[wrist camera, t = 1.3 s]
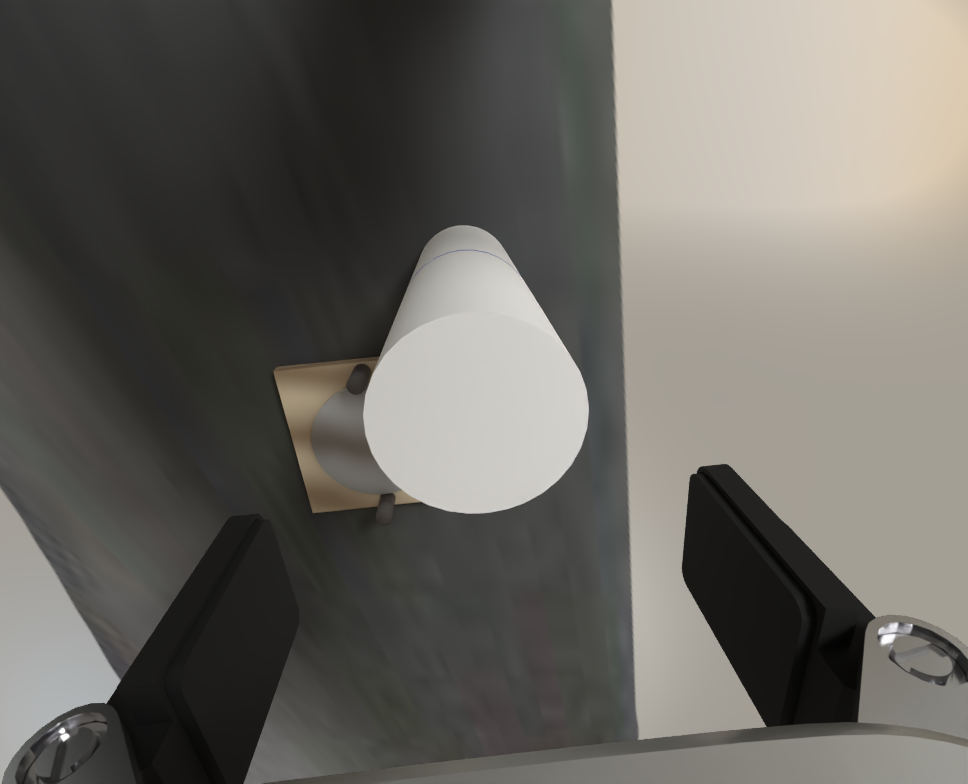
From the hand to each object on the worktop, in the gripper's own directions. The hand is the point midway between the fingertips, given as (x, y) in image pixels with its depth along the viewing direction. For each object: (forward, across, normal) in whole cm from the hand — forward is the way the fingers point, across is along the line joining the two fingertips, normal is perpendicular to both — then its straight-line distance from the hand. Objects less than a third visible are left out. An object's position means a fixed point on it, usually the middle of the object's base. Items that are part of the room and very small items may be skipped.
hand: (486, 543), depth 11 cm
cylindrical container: (+31, 0, -1) cm, 31 cm away
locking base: (+30, +9, +12) cm, 34 cm away
